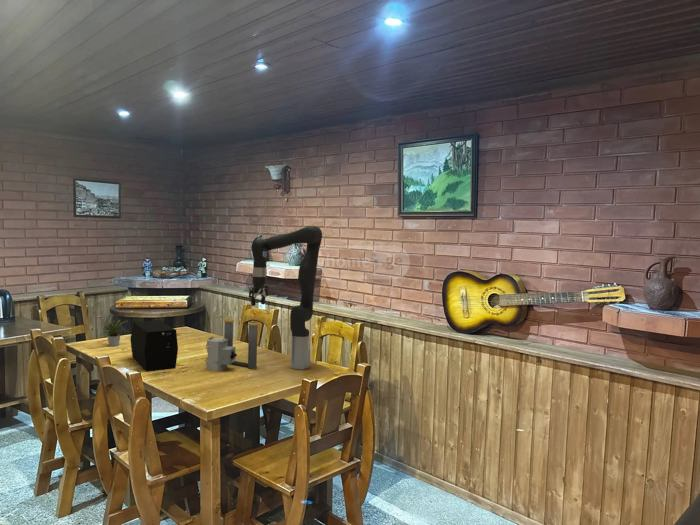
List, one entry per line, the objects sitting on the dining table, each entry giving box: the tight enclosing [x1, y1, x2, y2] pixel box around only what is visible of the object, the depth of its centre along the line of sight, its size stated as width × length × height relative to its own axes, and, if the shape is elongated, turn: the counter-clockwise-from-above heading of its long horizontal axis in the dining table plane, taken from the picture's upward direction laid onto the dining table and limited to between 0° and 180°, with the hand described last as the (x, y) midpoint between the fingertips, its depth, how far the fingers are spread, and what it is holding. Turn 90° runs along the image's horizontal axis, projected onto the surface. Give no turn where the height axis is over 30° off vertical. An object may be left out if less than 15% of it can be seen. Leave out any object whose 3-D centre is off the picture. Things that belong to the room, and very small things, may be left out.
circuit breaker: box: [205, 337, 238, 372], centre depth 255 cm, size 8×14×15 cm, turn 78°
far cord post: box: [223, 317, 235, 365], centre depth 267 cm, size 5×5×24 cm
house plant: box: [103, 319, 127, 348], centre depth 299 cm, size 14×14×16 cm
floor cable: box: [231, 360, 248, 368], centre depth 264 cm, size 11×2×2 cm, turn 64°
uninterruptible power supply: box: [129, 319, 179, 373], centre depth 262 cm, size 16×34×20 cm, turn 35°
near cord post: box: [247, 321, 259, 370], centre depth 259 cm, size 5×5×24 cm
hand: (258, 305), depth 273 cm, fingers open, 8 cm apart
